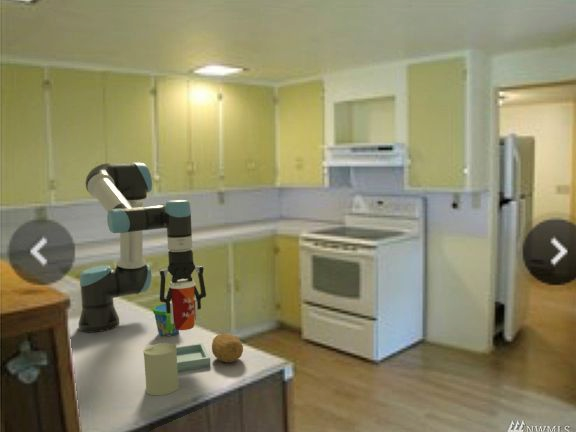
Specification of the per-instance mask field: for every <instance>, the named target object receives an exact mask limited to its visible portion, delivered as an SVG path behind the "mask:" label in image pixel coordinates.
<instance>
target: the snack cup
mask: <svg viewBox="0 0 576 432" xmlns="http://www.w3.org/2000/svg"><path fill="white" fill-rule="evenodd" d="M152 313H153V314H154V317H155V322H156V327H157V332H158V334H159V335H160V336H161V337H162V336H164V337H170V336H174V335H177V334H179V332H180V330H177V329H175V324H171V321H170V313H167V311H166V303H162V304H161V303H160V304H157V305H156V306H154V307H153V309H152ZM173 318H174V316H173Z"/></svg>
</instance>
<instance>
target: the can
mask: <svg viewBox="0 0 576 432" xmlns="http://www.w3.org/2000/svg"><path fill="white" fill-rule="evenodd" d="M177 347H178V346H176V344H173V343H165V342H161V343H156V344H151V345H149V346H146V347H145V348H144V349H143V357H144V358H143V359H144V361H143V362H144V372H145V373H144V374H145V392H146V393H147V394H148V395H152V396H163V395H164V396H165V395H169V394H172V393H174V392H176V391H177V390H178V389H179V388H180V384H179V374H178V373H179V372H178V371H177Z"/></svg>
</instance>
